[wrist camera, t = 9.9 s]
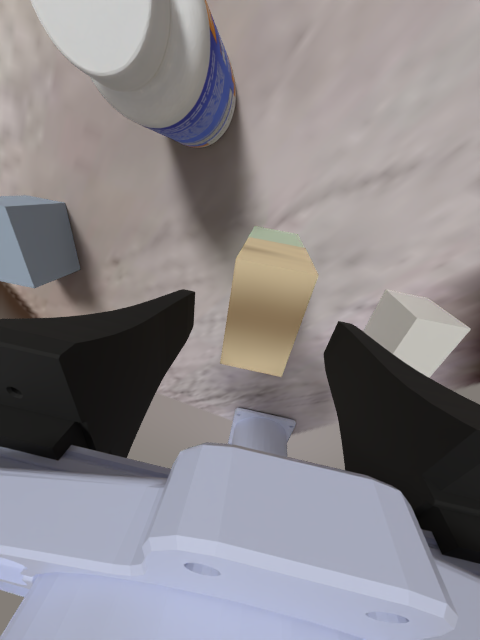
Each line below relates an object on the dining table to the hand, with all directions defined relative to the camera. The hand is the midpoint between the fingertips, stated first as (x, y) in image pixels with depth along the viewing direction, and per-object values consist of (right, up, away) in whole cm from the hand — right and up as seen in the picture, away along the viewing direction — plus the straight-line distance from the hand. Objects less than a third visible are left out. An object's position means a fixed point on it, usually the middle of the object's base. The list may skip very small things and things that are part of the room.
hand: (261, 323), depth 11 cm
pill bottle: (-4, +15, +3) cm, 16 cm away
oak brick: (+1, +2, +4) cm, 5 cm away
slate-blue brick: (-18, +8, +10) cm, 22 cm away
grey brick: (+13, 0, +9) cm, 16 cm away
